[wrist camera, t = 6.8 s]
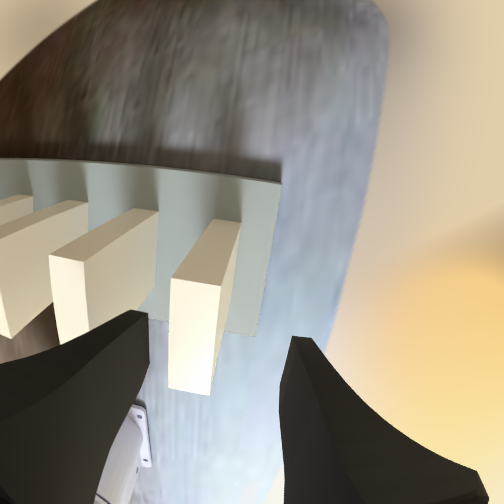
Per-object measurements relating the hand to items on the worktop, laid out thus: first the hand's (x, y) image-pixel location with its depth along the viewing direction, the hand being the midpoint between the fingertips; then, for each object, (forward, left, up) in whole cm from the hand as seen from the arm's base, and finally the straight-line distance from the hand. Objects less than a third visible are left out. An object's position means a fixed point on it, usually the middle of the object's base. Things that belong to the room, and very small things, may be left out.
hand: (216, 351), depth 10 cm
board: (0, +10, -9) cm, 13 cm away
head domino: (0, +1, -8) cm, 8 cm away
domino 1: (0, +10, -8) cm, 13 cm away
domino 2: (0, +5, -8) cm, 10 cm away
